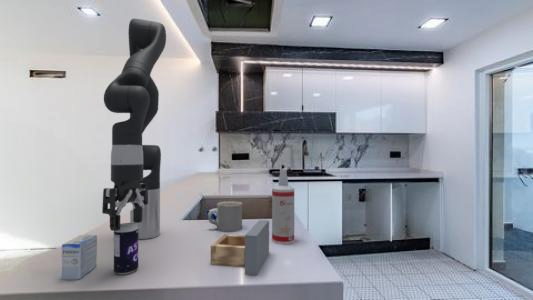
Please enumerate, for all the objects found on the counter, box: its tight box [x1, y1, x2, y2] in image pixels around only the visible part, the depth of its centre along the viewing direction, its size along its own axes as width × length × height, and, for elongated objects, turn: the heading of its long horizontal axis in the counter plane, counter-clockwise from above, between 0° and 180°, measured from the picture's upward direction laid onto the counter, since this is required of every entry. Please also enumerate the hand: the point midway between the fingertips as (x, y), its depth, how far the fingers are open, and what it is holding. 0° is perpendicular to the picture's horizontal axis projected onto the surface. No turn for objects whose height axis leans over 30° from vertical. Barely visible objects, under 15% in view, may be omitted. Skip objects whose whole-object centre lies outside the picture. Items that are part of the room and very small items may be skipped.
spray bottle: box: [271, 168, 295, 246], centre depth 98 cm, size 8×8×25 cm
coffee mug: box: [207, 201, 243, 233], centre depth 114 cm, size 13×10×10 cm
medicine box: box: [61, 234, 98, 281], centre depth 73 cm, size 8×4×9 cm, turn 5°
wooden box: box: [210, 233, 246, 268], centre depth 82 cm, size 11×11×5 cm
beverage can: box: [113, 222, 139, 276], centre depth 73 cm, size 6×6×12 cm
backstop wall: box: [244, 219, 270, 277], centre depth 79 cm, size 3×16×10 cm, turn 168°
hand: (127, 226), depth 73 cm, fingers open, 8 cm apart
